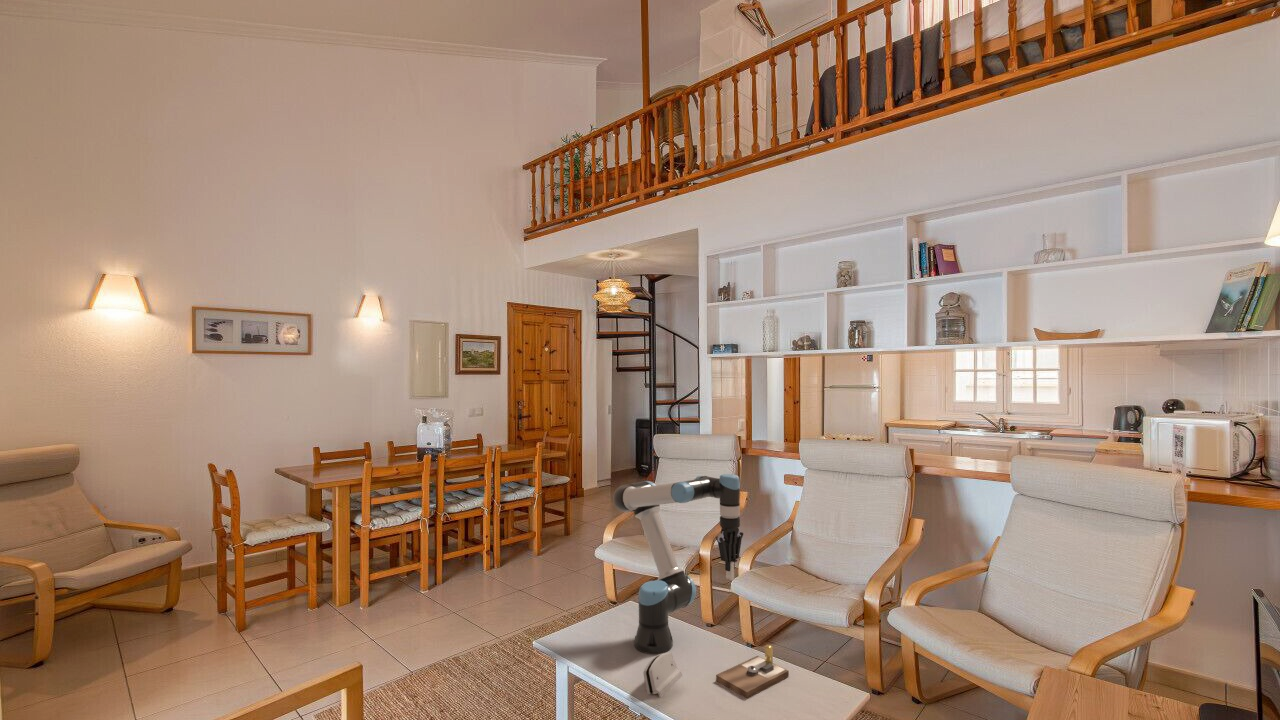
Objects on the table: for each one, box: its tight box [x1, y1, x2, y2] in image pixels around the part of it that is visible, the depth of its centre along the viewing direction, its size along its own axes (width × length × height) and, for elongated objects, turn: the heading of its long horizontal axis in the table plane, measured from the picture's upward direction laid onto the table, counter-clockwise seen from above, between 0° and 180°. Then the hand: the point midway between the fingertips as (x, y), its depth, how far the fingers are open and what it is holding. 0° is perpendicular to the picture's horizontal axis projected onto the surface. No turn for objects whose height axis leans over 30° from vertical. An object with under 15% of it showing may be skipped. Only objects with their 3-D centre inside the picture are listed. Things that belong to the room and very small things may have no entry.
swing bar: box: [748, 644, 774, 674], centre depth 205 cm, size 12×3×6 cm, turn 129°
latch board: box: [715, 655, 789, 699], centre depth 202 cm, size 14×22×4 cm, turn 129°
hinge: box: [642, 652, 683, 698], centre depth 199 cm, size 17×5×10 cm, turn 149°
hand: (730, 578), depth 217 cm, fingers closed
